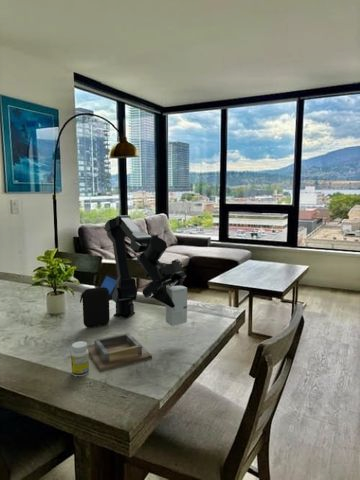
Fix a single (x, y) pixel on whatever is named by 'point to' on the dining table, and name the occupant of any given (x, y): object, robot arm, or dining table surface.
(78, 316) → the dining table surface
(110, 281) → the game console
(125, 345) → the sleeve holder
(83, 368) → the supplement bottle
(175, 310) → the skincare box
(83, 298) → the carrying case or bag
